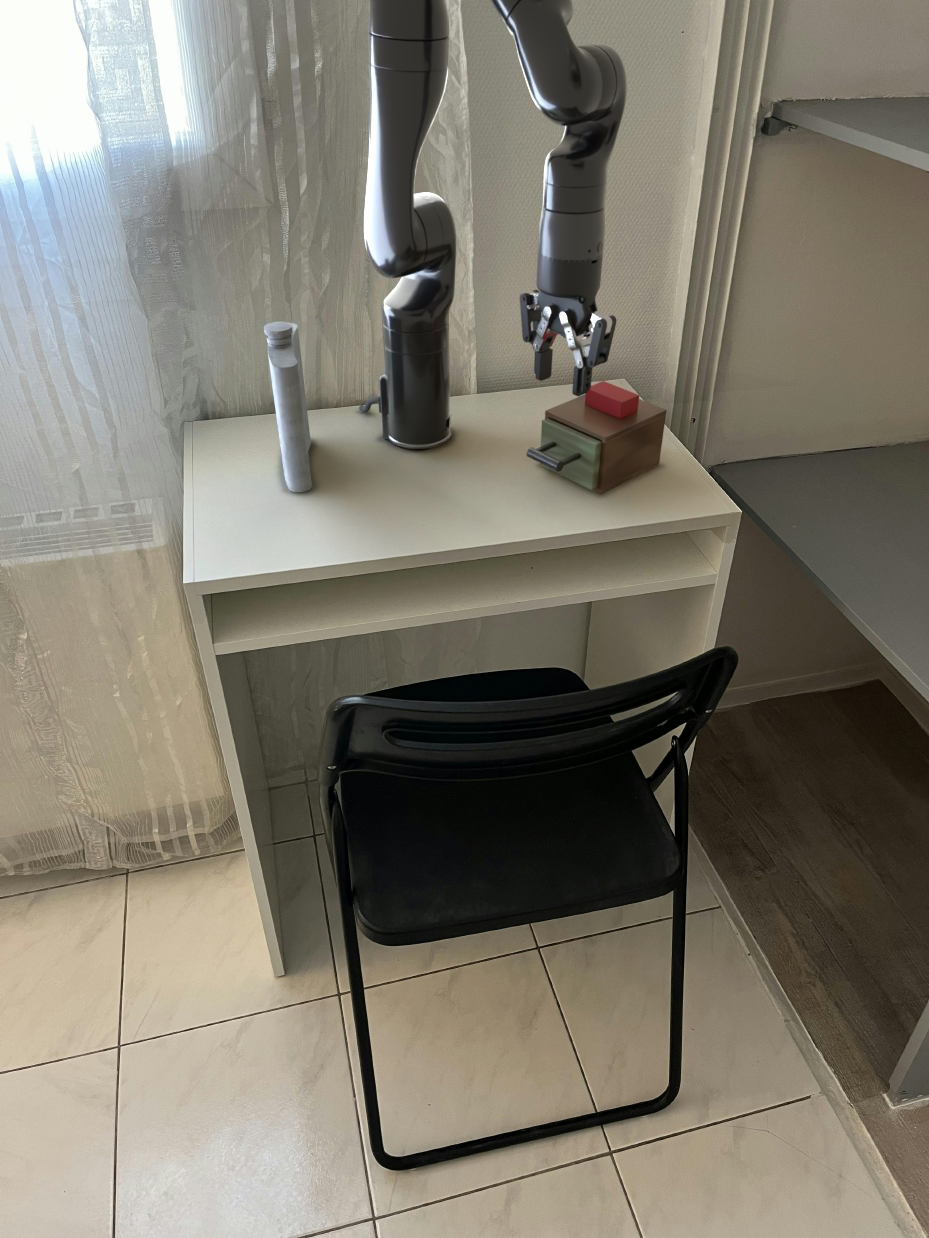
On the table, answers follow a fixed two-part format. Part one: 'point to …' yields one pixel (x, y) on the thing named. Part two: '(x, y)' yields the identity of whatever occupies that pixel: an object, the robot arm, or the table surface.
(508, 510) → the table surface
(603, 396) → the red block
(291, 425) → the hip flask
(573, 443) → the drawer
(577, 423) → the cabinet
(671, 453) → the table surface
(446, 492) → the table surface
